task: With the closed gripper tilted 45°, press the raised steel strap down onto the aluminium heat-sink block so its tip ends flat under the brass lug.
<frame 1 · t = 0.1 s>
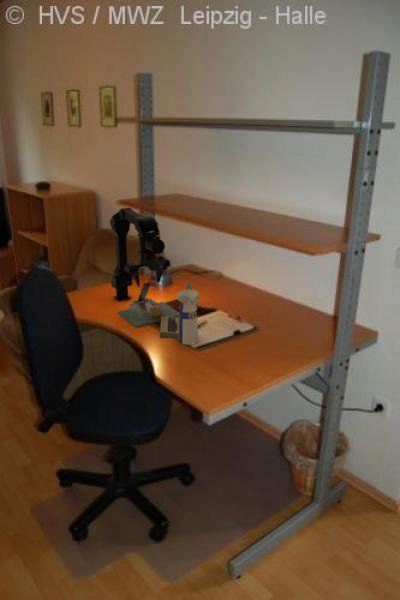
hand: (148, 285, 197), 15 cm above the table, tool pointing down, fingers open, 9 cm apart
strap: (143, 292, 203), point 10 cm above the table, hinge at 55.0°
board: (149, 315, 205), on the table
computer: (170, 330, 191), on the table
heat sink: (147, 315, 204), resting on board
water bottle: (189, 340, 181), on the table
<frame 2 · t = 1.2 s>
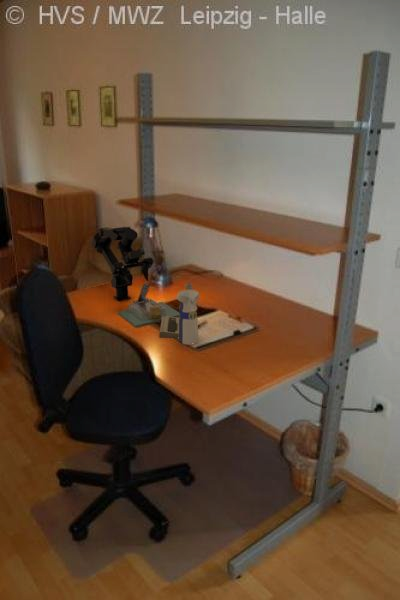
hand: (139, 282, 204), 13 cm above the table, tool tilted 45°, fingers open, 8 cm apart
nothing on the table moved.
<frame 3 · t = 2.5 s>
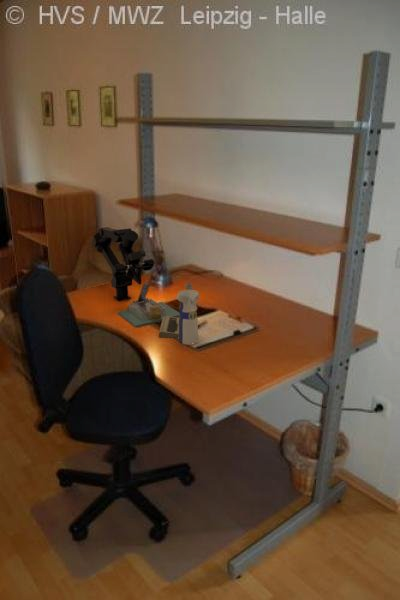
hand: (140, 283, 204), 13 cm above the table, tool tilted 45°, fingers closed
nothing on the table moved.
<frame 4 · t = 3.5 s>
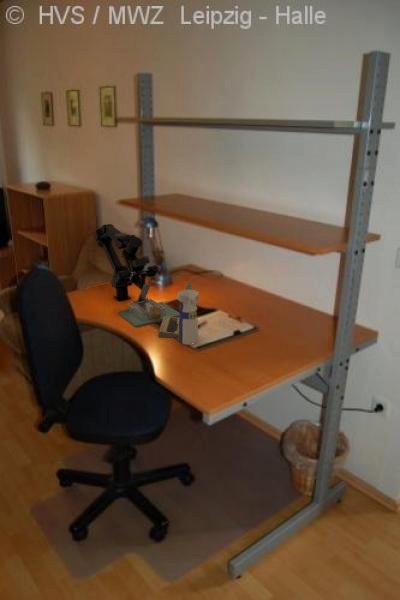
hand: (144, 290, 202), 11 cm above the table, tool tilted 45°, fingers closed, pressing on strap
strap: (143, 292, 203), point 10 cm above the table, hinge at 53.6°, touching gripper
everything else where it was.
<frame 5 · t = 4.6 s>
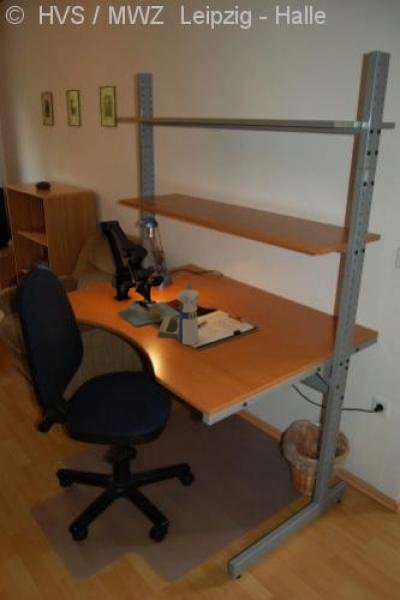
hand: (149, 301, 199), 8 cm above the table, tool tilted 45°, fingers closed, pressing on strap
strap: (146, 301, 202), point 6 cm above the table, hinge at 13.8°, touching gripper
everything else where it was.
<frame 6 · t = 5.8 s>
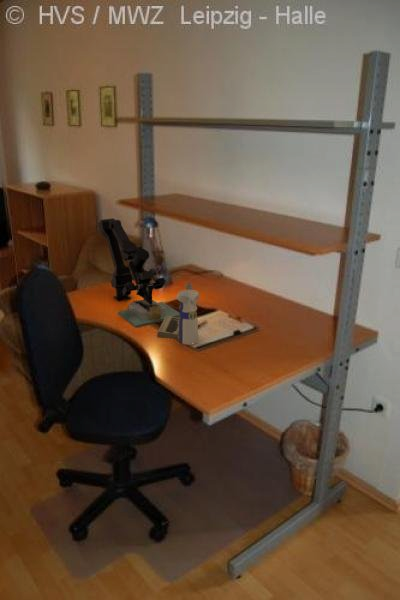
hand: (151, 303, 198), 7 cm above the table, tool tilted 45°, fingers closed
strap: (146, 303, 202), point 6 cm above the table, hinge at 6.8°
everything else where it was.
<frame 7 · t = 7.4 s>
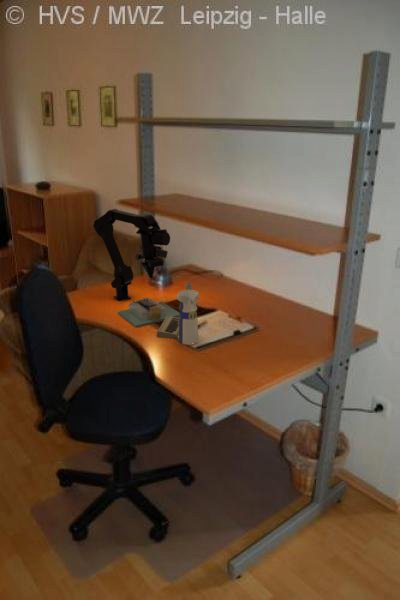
hand: (150, 277, 211), 13 cm above the table, tool pointing down, fingers closed
nothing on the table moved.
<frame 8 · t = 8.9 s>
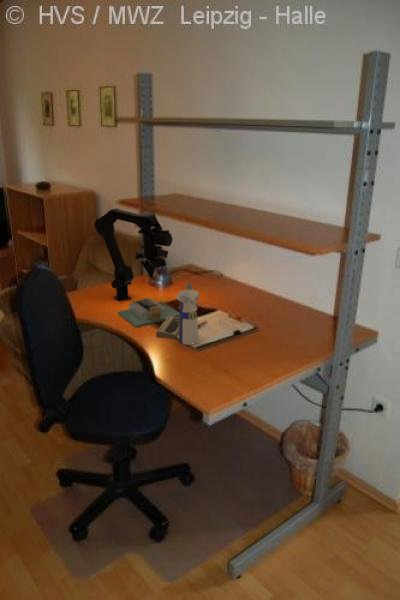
hand: (150, 277, 212), 13 cm above the table, tool pointing down, fingers closed
at the end: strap at +7° (first picture: +55°); computer moved 0.9 cm from its start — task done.
